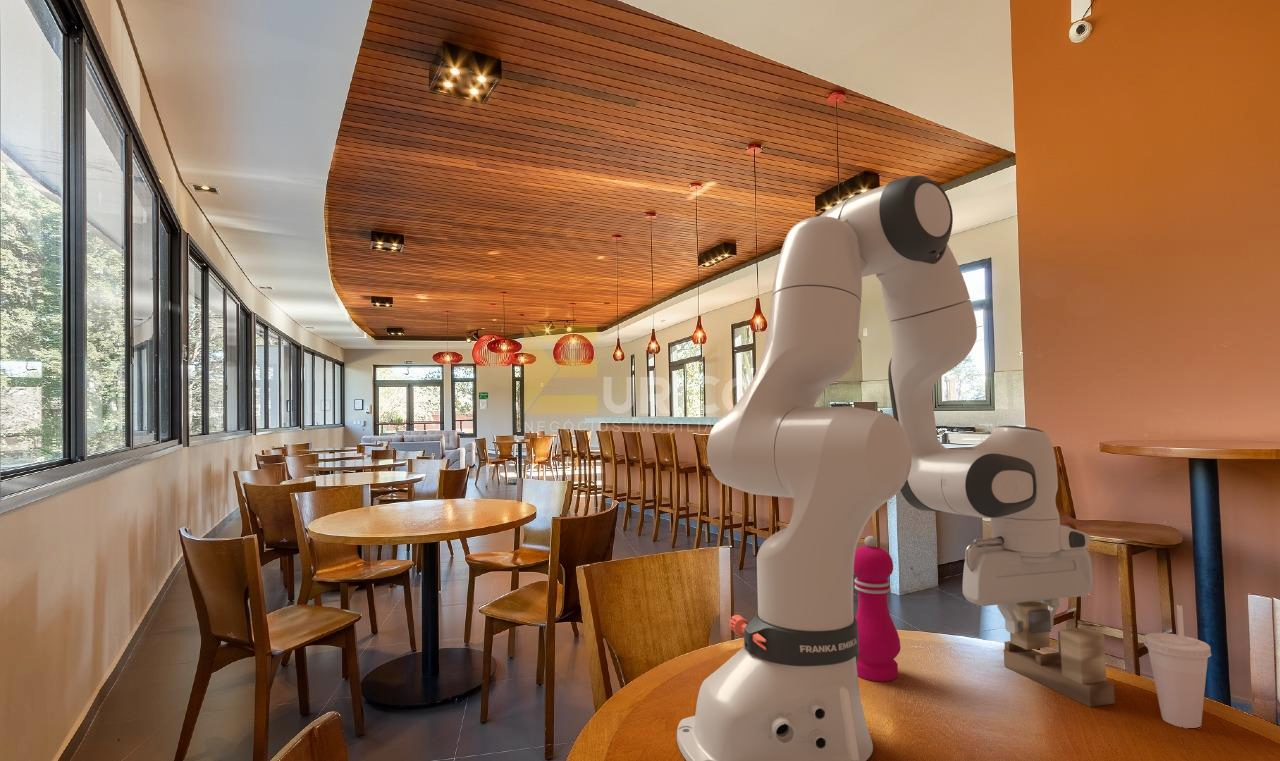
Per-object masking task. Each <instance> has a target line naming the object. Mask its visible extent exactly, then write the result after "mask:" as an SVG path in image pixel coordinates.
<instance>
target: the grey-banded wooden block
mask: <svg viewBox="0 0 1280 761" xmlns="http://www.w3.org/2000/svg"><path fill="white" fill-rule="evenodd" d="M1013 611H1014V614H1015V616H1016V618H1017V619H1018V620H1021V621H1023V627H1022V628H1023V632H1022V633H1015V634H1013V633H1010V632H1009V637H1010V638H1009V639H1010V640H1009V641H1010V642H1011V643H1012V644H1015V645H1017V646H1019V647H1022V648H1024V649H1027V650H1030V649H1032V650H1037V649H1045V648H1050V647H1051V642H1050V633H1051V632H1052V629H1051V620H1050V610H1048V605H1046V604H1043V603H1041V602H1040V601H1030V602H1020V603H1016V610H1013Z"/></svg>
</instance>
